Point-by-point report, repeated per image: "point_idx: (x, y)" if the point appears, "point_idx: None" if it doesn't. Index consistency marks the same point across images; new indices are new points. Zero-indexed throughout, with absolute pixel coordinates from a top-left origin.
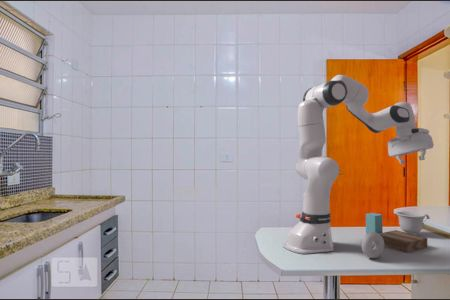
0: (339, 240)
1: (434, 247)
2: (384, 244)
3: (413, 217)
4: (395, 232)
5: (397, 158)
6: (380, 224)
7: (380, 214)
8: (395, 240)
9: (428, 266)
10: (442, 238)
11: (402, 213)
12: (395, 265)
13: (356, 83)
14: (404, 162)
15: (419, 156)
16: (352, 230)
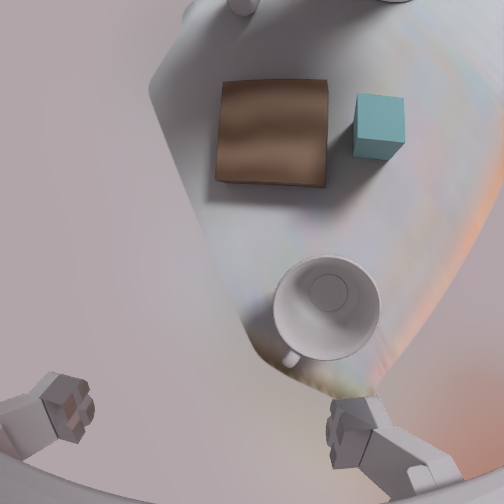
0: (393, 34)
1: (216, 203)
2: (229, 6)
3: (294, 268)
4: (306, 154)
5: (430, 449)
6: (355, 135)
7: (366, 138)
8: (256, 80)
9: (165, 63)
10: (249, 322)
11: (369, 324)
12: (203, 13)
13: None
14: (329, 441)
15: (55, 400)
16: (461, 160)
